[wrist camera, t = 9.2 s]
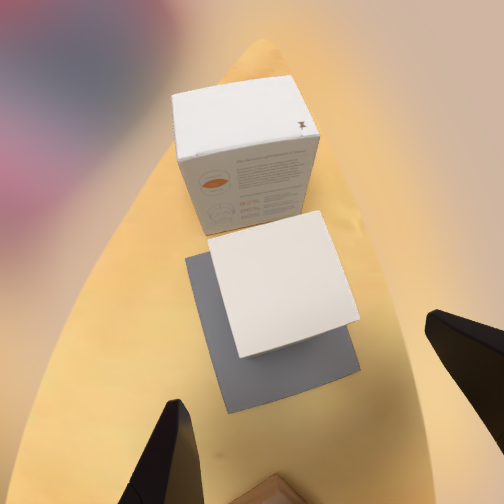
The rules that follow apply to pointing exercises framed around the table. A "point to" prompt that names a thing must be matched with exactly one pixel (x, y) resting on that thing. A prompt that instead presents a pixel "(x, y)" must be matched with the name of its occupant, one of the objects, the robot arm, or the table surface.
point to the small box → (244, 151)
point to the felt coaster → (269, 364)
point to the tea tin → (281, 283)
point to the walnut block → (271, 493)
